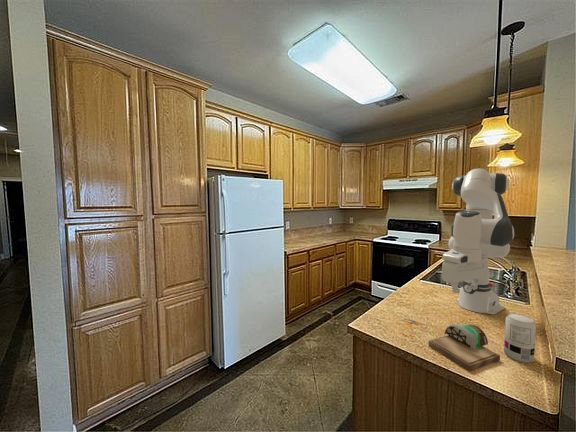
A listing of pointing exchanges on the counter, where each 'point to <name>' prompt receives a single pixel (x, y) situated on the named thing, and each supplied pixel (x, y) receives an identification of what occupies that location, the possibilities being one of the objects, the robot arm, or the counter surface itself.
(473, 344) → the food container
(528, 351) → the supplement can
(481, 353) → the base
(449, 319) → the counter surface
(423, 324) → the key chain
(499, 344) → the counter surface
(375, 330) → the counter surface
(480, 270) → the robot arm
